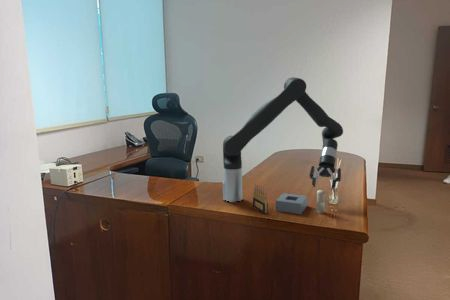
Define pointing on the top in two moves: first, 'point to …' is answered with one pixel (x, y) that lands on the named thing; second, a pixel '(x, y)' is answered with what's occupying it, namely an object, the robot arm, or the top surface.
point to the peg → (320, 201)
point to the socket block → (291, 203)
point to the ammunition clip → (260, 199)
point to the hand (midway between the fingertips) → (323, 187)
